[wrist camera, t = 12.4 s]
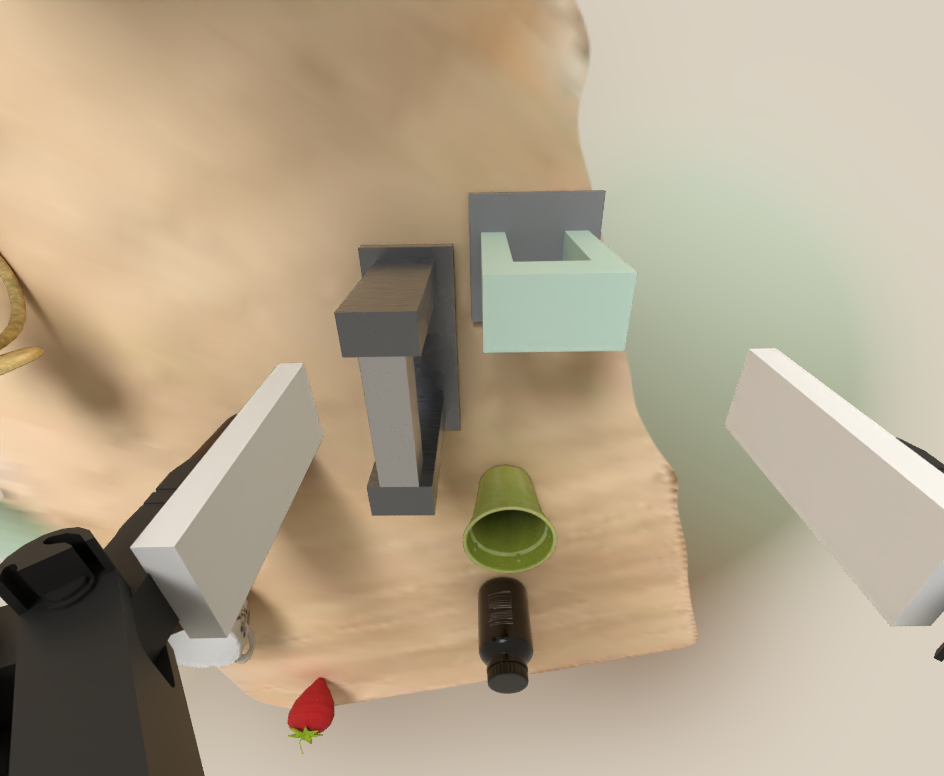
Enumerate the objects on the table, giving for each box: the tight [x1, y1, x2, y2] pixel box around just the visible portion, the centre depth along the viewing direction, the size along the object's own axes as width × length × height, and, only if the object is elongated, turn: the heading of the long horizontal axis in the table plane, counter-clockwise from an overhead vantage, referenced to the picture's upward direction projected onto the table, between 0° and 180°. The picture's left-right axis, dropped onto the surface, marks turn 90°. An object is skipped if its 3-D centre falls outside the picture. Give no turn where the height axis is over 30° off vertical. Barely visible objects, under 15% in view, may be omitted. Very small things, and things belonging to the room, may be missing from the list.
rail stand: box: [334, 244, 460, 515], centre depth 37 cm, size 19×8×14 cm, turn 1°
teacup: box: [168, 600, 255, 668], centre depth 59 cm, size 15×12×8 cm
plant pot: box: [463, 465, 556, 573], centre depth 48 cm, size 9×9×9 cm
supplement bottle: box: [478, 578, 533, 694], centre depth 56 cm, size 7×7×12 cm
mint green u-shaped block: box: [481, 230, 637, 353], centre depth 32 cm, size 5×9×13 cm, turn 91°
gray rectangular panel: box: [469, 190, 606, 322], centre depth 38 cm, size 11×11×1 cm
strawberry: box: [288, 678, 334, 751], centre depth 69 cm, size 6×8×10 cm
